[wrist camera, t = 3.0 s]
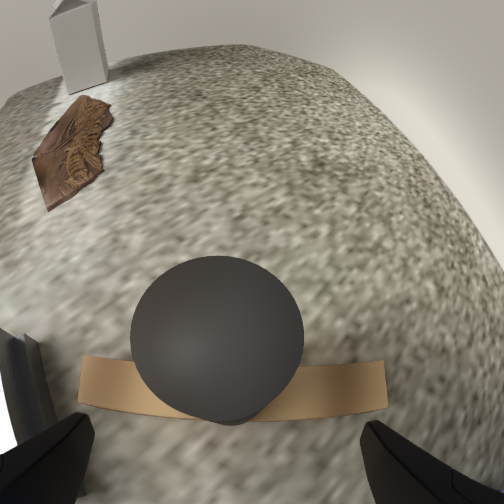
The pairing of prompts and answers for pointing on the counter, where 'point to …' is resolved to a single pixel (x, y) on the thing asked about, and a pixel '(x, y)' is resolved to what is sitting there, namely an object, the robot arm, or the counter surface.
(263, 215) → the counter surface
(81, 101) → the wooden fragment
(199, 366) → the tan grey t-shaped tool
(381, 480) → the robot arm
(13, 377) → the ridge stand
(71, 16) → the milk carton
